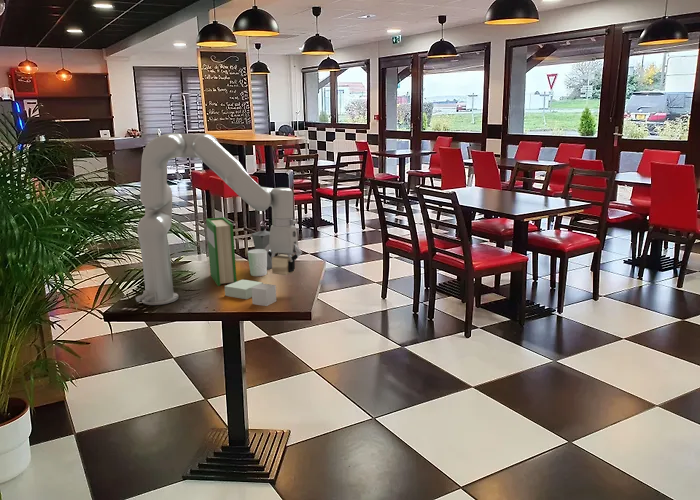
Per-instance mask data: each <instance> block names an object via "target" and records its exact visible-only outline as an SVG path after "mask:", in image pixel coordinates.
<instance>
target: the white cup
mask: <svg viewBox="0 0 700 500" xmlns="http://www.w3.org/2000/svg"><path fill="white" fill-rule="evenodd" d="M247 256H248V259H247V260H248V264H249V274H250V276H253V277H262V276H266V275H267V273H268V269H267V251H266V250H265V249H255V248H254V249H249V250H247Z"/></svg>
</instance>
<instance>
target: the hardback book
mask: <svg viewBox="0 0 700 500" xmlns="http://www.w3.org/2000/svg"><path fill="white" fill-rule="evenodd" d="M205 221H206V232H207V233H206V235H207V245H208V246H207V248H208V257H209V259H208V260H209V270H210V271H209V273H210V277H211V278H212V280H213V282H215V285H217V287H221V285H222V284H232V283H234V282H237V281H238V280H237V279H238V278H237V269H236V268H237V267H236V256H235V255H236V254H235V253H236V252H235V238H234V236H235V235H234V224H233V223H232V222H231V221H230V220H228V218H226V217H224V216H223V217H213V218H212V217H211V218H206V219H205Z"/></svg>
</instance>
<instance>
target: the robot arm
mask: <svg viewBox="0 0 700 500" xmlns="http://www.w3.org/2000/svg"><path fill="white" fill-rule="evenodd" d="M176 158H194V159H195V158H196V159H197V158H198V159H199V160H200V161H201V162H203V163H204V165H206V166H207V167H208V168H209V169H210V170H211V171H212V172H213V173H215V174H216V175H217V176H218V177H219V178H220V179H222V181H223V182H224V183H225V185H227V186H228V187H229V188H231V190H233V192H234V193H235V194H236V195H237V196H238V197H240V199H242V200H243V201H244V202H245V203H246V204H247V205H248V206H250V208H252V209H253V210H255V211H258V212H264V211H266V210H268V209H269V207H271V219H272V220H271V221H272V222H271V223H272V225H271V226H270V230H269V232H270V237H269V244H268V245H267V246H266V247H265V250H266V251H267V253H268V254H269V256H270V257H271V259H272V257H275V256H277V255H280V254H283V255H288V258H289V262H288V272H293V271H294V269H295V270H296V267H295V266H296V262H295V261H297V259H298V258H299V257H300V256H301V255H302V254H303V250H302V249H301V248H300V247H299V240H298V238H299V237H298V231H297V228H296V224H297V221H296V220H295V219H294V194H293V192H294V191H293V189H291V188H289V187H274V188H273V187H267V186H261V185H260V184H258V183H257V182H256V181H255V180H254V179H253V178H252V177H251V176H250V174H249V173H248V172H247V171H246V169H245V168H244V166H243V164H242V163H241V162H240V161H239V160H238V159H237V158H235V157H234V156H233V155H232V154H231V153H230V152H229V151H228V150H226V149H225V148H224V147H223V145H221V144H220V143H219V141H218V139H217V138H216V137H215V136H214V135H212V134H209V133H174V132H173V133H164V134H162V135H161V134H160V135H159V136H156V137H155V138H153V139H151V140H150V141H149V142H148V143H147V144H146V145H145V147H144V149H143V151H142V155H141V162H140V163H141V164H140V165H141V168H140V170H141V171H140V190H139V191H140V192H139V193H140V194H139V198H140V202H141V204H142V206H143V207H144V216H142V218H141V219H140V220H139V221H138V224H137V237H138V238H137V239H138V242H139V247H140V255H141V261H142V262H141V263H142V270H143V281H144V287H145V288H144V289H145V290H143V291H142V292H143V293H142V294H140V295H138V296H135V301H136V302H137V303H139V302H141V303H143V305H147V306H148V305H149V306H161V305H167V304H170V303H173V302H176V301H177V300H178V299H179V294H178V293H177V292H174V284H173V283H174V282H173V274H172V263H171V262H172V261H171V253H170V245H169V240H168V232H169V231H170V229H171V227H172V222H173V221H172V220H173V191H172V189H171V187H170V185H169V184H168V182H167V181H168V162H169V161H170V160H174V159H176ZM293 273H294V272H293Z"/></svg>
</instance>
